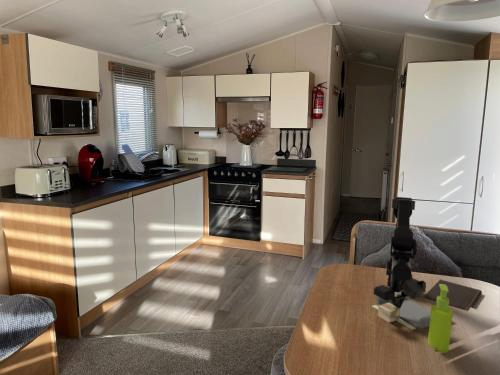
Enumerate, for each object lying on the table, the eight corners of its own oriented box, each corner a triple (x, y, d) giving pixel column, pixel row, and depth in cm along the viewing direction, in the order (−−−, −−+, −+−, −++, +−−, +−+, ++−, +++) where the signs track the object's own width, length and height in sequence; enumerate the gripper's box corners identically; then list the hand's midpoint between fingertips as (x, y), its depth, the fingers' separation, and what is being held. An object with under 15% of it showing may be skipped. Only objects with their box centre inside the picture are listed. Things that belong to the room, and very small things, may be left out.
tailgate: (375, 304, 141) (361, 309, 138) (416, 328, 125) (401, 333, 122) (375, 307, 141) (361, 311, 138) (416, 330, 126) (401, 336, 122)
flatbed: (400, 299, 149) (401, 288, 148) (447, 323, 131) (448, 311, 131) (376, 306, 143) (376, 295, 142) (421, 332, 125) (422, 320, 125)
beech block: (388, 312, 135) (388, 302, 134) (399, 319, 131) (400, 308, 130) (377, 316, 133) (378, 305, 132) (389, 322, 129) (389, 312, 128)
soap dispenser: (446, 343, 119) (452, 284, 116) (449, 355, 113) (457, 293, 110) (425, 339, 121) (431, 281, 118) (428, 351, 115) (434, 290, 111)
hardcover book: (422, 302, 148) (422, 296, 148) (439, 284, 165) (440, 279, 165) (468, 316, 138) (468, 310, 137) (481, 295, 154) (482, 290, 154)
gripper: (400, 283, 119) (396, 328, 122) (439, 272, 128) (434, 315, 131) (374, 270, 129) (371, 313, 132) (411, 262, 138) (408, 301, 140)
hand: (397, 311), depth 133 cm, fingers closed
